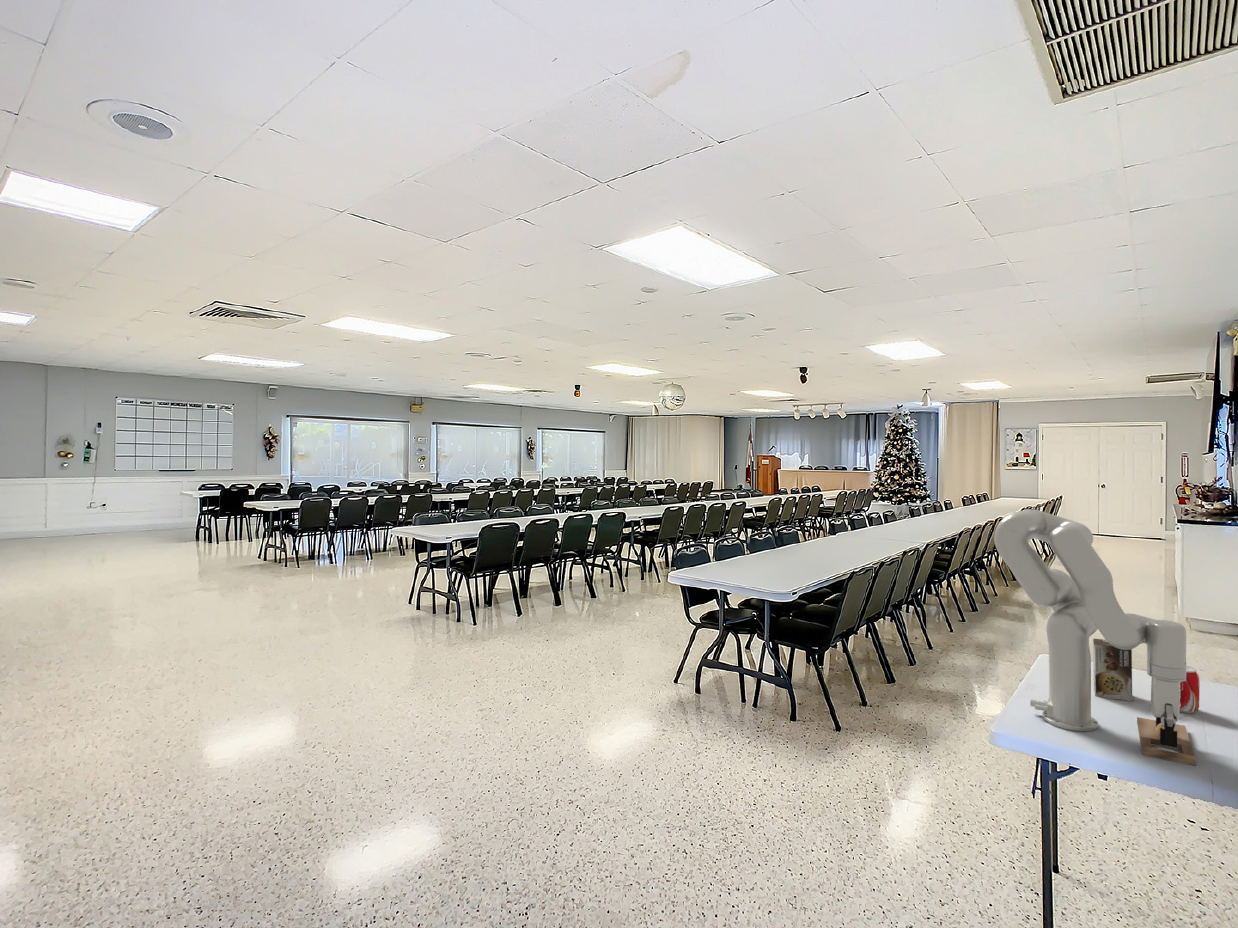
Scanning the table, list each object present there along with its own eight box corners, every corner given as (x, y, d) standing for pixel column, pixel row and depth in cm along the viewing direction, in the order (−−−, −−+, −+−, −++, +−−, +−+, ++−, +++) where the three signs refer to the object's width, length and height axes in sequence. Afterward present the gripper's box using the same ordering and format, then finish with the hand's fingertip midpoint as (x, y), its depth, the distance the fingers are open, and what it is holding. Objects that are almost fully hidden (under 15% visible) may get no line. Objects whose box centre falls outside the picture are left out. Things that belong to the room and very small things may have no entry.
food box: (1129, 694, 197) (1130, 641, 196) (1132, 702, 191) (1132, 648, 191) (1092, 688, 202) (1092, 637, 201) (1094, 696, 196) (1094, 643, 196)
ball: (1153, 734, 168) (1156, 739, 165) (1155, 719, 168) (1158, 723, 165) (1174, 739, 166) (1177, 743, 163) (1175, 723, 166) (1178, 727, 163)
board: (1142, 754, 161) (1142, 748, 161) (1137, 722, 178) (1137, 717, 178) (1195, 765, 155) (1195, 759, 155) (1185, 731, 172) (1185, 725, 172)
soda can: (1201, 716, 181) (1202, 674, 180) (1169, 711, 184) (1169, 669, 184) (1196, 707, 187) (1196, 666, 186) (1164, 702, 190) (1164, 662, 190)
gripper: (1144, 658, 173) (1144, 721, 173) (1150, 679, 158) (1150, 748, 159) (1181, 663, 168) (1181, 728, 169) (1191, 684, 154) (1191, 755, 155)
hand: (1166, 737), depth 164 cm, fingers open, 9 cm apart
